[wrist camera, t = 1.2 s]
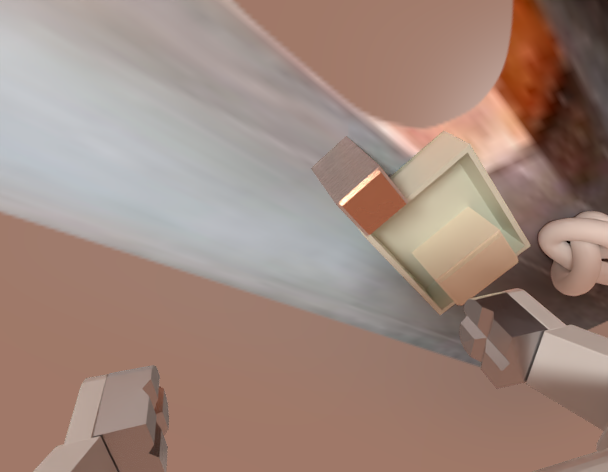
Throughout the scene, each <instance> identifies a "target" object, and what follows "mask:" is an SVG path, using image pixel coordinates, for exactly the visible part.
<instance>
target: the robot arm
mask: <svg viewBox="0 0 608 472" xmlns="http://www.w3.org/2000/svg"><path fill="white" fill-rule="evenodd" d="M463 311H464V312H465V314H466V315H467V316H466V317H465V319H464V320H463V321H462V322H461V324H460V331H459V334H460V338H461V342H462V344H463V346H464V348H465V350H466V351H467V353H468V354H469V355H470V357H472V358H474V359H476V360H478V361H480V362H481V370H482V371H483V373H484V374H485V375H486V376H487V377H488V379H489V380H490V381H491V382H492V384H493V385H494V386H495V387H496V389H499V388H503V387H507V386H512V385H516V384H521V383H525V382H526V384H527V385H528V386H530V387H532V388H533V389H535V390H537V391H538V392H540V393H542V394H543V395H545V396H547V397H548V398H550V399H552V400H553V401H555V402H557V403H558V404H560V405H562V406H563V407H565V408H567V409H568V410H570V411H572V412H573V413H575V414H577V415H578V416H580V417H582V418H583V419H585V420H587V421H588V422H590V423H592V424H593V425H595V426H597V427H598V428H600V429H602V430H603V431H604V432H603V433H602V435H601V437H600V439H599V441H598V443H597V451H598V452H594V453H592V454H588V455H585V456H582V457H578V458H575V459H572V460H569V461H565V462H562V463H559V464H556V465H553V466H550V467H546V468H543V469H540V470H537V471H533V472H608V338H606V337H604V336H601V335H598V334H596V333H593V332H590V331H588V330H585V329H582V328H579V327H577V326H574V325H567V326H566V325H565V324H564V323H563V322H562V321H560V320H559V319H558V318H557V317H556V316H554V315H553V314H552V313H551V312H550V311H548V310H547V309H546V308H545V307H544V306H542V305H541V304H540V303H539V302H538V301H537V300H535V299H534V298H533V297H532V296H531V295H529V294H528V293H527V292H526V291H525V290H523V289H520V288H515V289H511V290H506V291H502V292H497V293H493V294H488V295H484V296H479V297H475V298H470V299H468V300H467V301H466V302H465V305H464V309H463ZM159 379H160V376H159V373H158V370H157V368H156V366H148V367H142V368H137V369H132V370H126V371H121V372H115V373H110V374H107V375H102V376H96V377H91V378H86V379H85V380H84V382H83V383H82V385H81V387H80V391H79V395H78V398H77V401H76V405H75V408H74V412H73V415H72V418H71V422H70V425H69V429H68V432H67V436H66V439H65V443H64V445H60V446H56V447H55V449H54V450H53V451H52V452H51V453H50V454H49V455H48V456H47V457H46V458H45V459H44V461H43V462H42V463H41V464H40V465H39V466H38V467H37V468H36V469H35V470H34V471H33V472H166V466H167V448H168V447H167V444H166V441H165V439H164V435H165V434H166V432H167V430H168V428H169V426H168V425H169V415H168V403H167V398H166V394H165V391H164V389H163V388H161V387H160V386H159Z"/></svg>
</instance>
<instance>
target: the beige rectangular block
mask: <svg viewBox="0 0 608 472" xmlns="http://www.w3.org/2000/svg"><path fill="white" fill-rule="evenodd" d="M412 254H413V255H414V257H415V258H416V259H417V260H418V261H419V262H420V264H421V265H422V266H423V267H424V268H425V269H426V270H427V272H428V273H429V274H430V275H431V276H432V277H433V279H434V280H435V281H436V282H437V283H438V284H439V285H440V287H441V288H442V289H443V290H444V291H445V292H446V293H447V294H448V295H449V297H450V298H451V299H452V300H453V301H454V302H455V303H456V304H457V306H458V305H459V304H460V305H461V306H462V305H463V304H465V302H466V301H467V300H468V299H470V298H472V297H474V296H475V295H476V294H478V293H479V292H480V291H482V290H483V289H484V288H485V287H487V286H488V285H489V284H491V283H492V282H493V281H495V280H496V279H497V278H499V277H500V276H501V275H502V274H504V273H505V272H506V271H508V270H509V269H510V268H512V267H513V266H514V265H516V264H517V263H518V262H519V261H518V257H517V256H516V254H515V253H514V251H513V250H512V248H511V247H510V245H509V244H508V242H507V241H506V239H505V237H504V236H503V234H502V233H501V231H500V230H499V229H498V228H497V227H495V226H494V225H493V224H491V223H490V222H489V221H487V220H486V219H485V218H483V217H482V216H481V215H479V214H478V213H477V212H475V211H474V210H473V209H471V208H470V207H469V206H468V207H467V208H466V209H464V210H463V211H462V212H461V213H459V214H458V215H457V216H456V217H455V218H453V219H452V220H451V221H450V222H448V223H447V224H446V225H445V226H443V227H442V228H441V229H440V230H439V231H437V232H436V233H435V234H434V235H432V236H431V237H430V238H429V239H428V240H426V241H425V242H424V243H423V244H421V245H420V246H419V247H418V248H417V249H415V250H414V251H413V252H412Z"/></svg>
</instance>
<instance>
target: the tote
mask: <svg viewBox="0 0 608 472" xmlns="http://www.w3.org/2000/svg"><path fill="white" fill-rule="evenodd" d="M390 179H391V180H392V182H393V183H394V184H395V185H396V187H397V188H398V189H399V190H400V192H401V193H402V194H403V195H404V197H405V198H406V199H407V200H408V203H407V204H406V205H405V206H403V207H402V208H401V209H400V210H399V211H398V212H396V213H395V214H394V215H393V216H392V217H390V218H389V219H388V220H387V221H386V222H385V223H383V224H382V225H381V226H380V227H379V228H377V229H376V230H375V231H374V232H373V233H372V234H370V235H369V236H368V237H367V236H366V235H365V234H364V233H363V232H362V231H361V230H360V229H359V228H358V229H359V230H360V232H361V233H362V234H363V236H364V237H365V238H366V239H367V240H368V241H369V242H370V243H371V244H372V245H373V246H374V247H375V248H376V249H377V250H378V251H379V252H380V253H381V254H382V255H383V256H384V257H385V258H386V260H387V261H388V262H389V263H390V264H391V265H392V266H393V267H394V268H395V269H396V270H397V271H398V272H399V273H400V274H401V275H402V276H403V277H404V278H405V279H406V280H407V281H408V282H409V283H410V284H411V285H412V287H413V288H414V289H415V290H416V291H417V292H418V293H419V294H420V295H421V296H422V297H423V298H424V299H425V300H426V301H427V302H428V303H429V304H430V305H431V306H432V307H433V308H434V309H435V310H436V311H437V313H438V314H439V315H441V314H442V313H444V312H445V311H446V310H448V309H449V308H450V307H452V306H453V305H454V304H455V302H454V301H453V300H452V299H451V298H450V297H449V295H448V294H447V293H446V292H445V291H444V290H443V289H442V288H441V287H440V285H439V284H438V283H437V282H436V281H435V280H434V279H433V277H432V276H431V275H430V274H429V273H428V272H427V270H426V269H425V268H424V267H423V266H422V265H421V264H420V262H419V261H418V260H417V259H416V258H415V257H414V255H413V254H412V252H413V251H414V250H415V249H417V248H418V247H419V246H420V245H421V244H423V243H424V242H425V241H426V240H428V239H429V238H430V237H431V236H432V235H434V234H435V233H436V232H437V231H439V230H440V229H441V228H442V227H443V226H445V225H446V224H447V223H448V222H450V221H451V220H452V219H453V218H455V217H456V216H457V215H458V214H459V213H461V212H462V211H463V210H464V209H466V208H467V207H468V206H469V207H470V208H471V209H473V210H474V211H475V212H477V213H478V214H479V215H481V216H482V217H483V218H485V219H486V220H487V221H489V222H490V223H491V224H493V225H494V226H495V227H497V228H498V229H499V230H500V231H501V233H502V234H503V236H504V237H505V239H506V241H507V242H508V244H509V245H510V247H511V248H512V250H513V251H514V253H515V254H516V256H518V255H519V254H521V253H522V252H523V251H524V250H526V249H527V248H528V247H530V246H531V245H530V243H529V242H528V240H527V238H526V237H525V235H524V233H523V232H522V230H521V228H520V227H519V225H518V223H517V222H516V220H515V218H514V217H513V215H512V213H511V212H510V210H509V208H508V207H507V205H506V203H505V202H504V200H503V198H502V197H501V195H500V193H499V192H498V190H497V188H496V187H495V185H494V183H493V182H492V180H491V178H490V177H489V175H488V173H487V172H486V170H485V168H484V167H483V165H482V163H481V162H480V160H479V158H478V157H477V155H476V153H475V152H474V150H473V148H472V147H471V145H470V144H469V143H467V142H465V141H463V140H461V139H459V138H457V137H455V136H453V135H451V134H449V133H448V132H446V131H443V132H441V133H440V134H439V135H438V136H437V137H436V138H435V139H433V140H432V141H431V142H430V143H429V144H428V145H426V146H425V147H424V148H423V149H422V150H421V151H420V152H418V153H417V154H416V155H415V156H414V157H413V158H412V159H410V160H409V161H408V162H407V163H406V164H405V165H404V166H402V167H401V168H400V169H399V170H398V171H397V172H395V173H394V174H393V175H392V176H391V177H390Z"/></svg>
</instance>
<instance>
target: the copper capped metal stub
mask: <svg viewBox="0 0 608 472" xmlns="http://www.w3.org/2000/svg"><path fill="white" fill-rule="evenodd" d="M311 169H312V171H313V172H314V174H315V175H316V176H317V178H318V179H319V181H320V182H321V184H322V185H323V186H324V188H325V189H326V191H327V192H328V194H329V195H330V196H331V198H332V199H333V201H334V202H335V204H336V205H337V206H338V207H339V208H340V209H341V210H342V211H343V212H344V213H345V214H346V215H347V216H348V217H349V218H350V219H351V221H352V222H353V223H354V224H355V225H356V226H357V227H358V228H359V229H360V230H361V231H362V232H363V233H364V234H365V235H366V236H367V237H368V236H369V235H370V234H372V233H373V232H374V231H375V230H376V229H377V228H379V227H380V226H381V225H382V224H383V223H385V222H386V221H387V220H388V219H389V218H390V217H392V216H393V215H394V214H395V213H396V212H398V211H399V210H400V209H401V208H402V207H403V206H405V205H406V204H407V203H408V200H407V199H406V198H405V197H404V195H403V194H402V193H401V192H400V190H399V189H398V188H397V187H396V185H395V184H394V183H393V182H392V180H391V179H390V178H389V177H388V175H387V174H386V173H385V172H384V170H383V169H382V168H381V167H380V166H379V165H378V164H377V163H376V162H375V161H374V160H373V159H372V158H371V157H369V156H368V155H367V154H366V153H365V152H364V151H363V150H362V149H360V148H359V147H358V146H357V145H356V144H355V143H354V142H353V141H351V140H350V139H349V138H348V137H347V136H346V137H344V138H343V139H342V140H341V141H340V142H339V143H338V144H337V145H336V146H335V147H334V148H332V149H331V150H330V151H329V152H328V153H327V154H326V155H325V156H324V157H323V158H322V159H320V160H319V161H318V162H317V163H316V164H315V165H314V166H313V167H312V168H311Z"/></svg>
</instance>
